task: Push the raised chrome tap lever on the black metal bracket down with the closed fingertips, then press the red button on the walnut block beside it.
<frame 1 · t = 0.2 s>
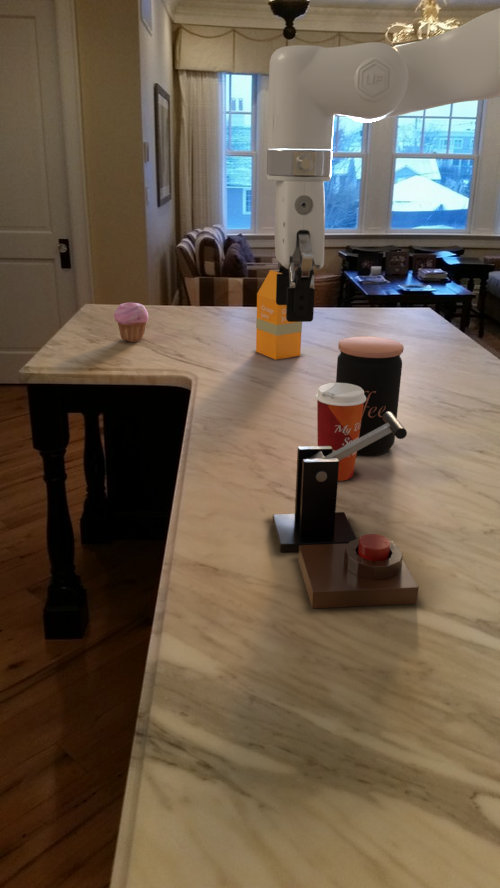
hand: (293, 312, 89), 28 cm above the kitchen island, tool pointing down, fingers open, 9 cm apart
orange juice: (277, 354, 177), on the kitchen island
button: (374, 547, 82), point 4 cm above the kitchen island, slide at 0.1 cm
coffee jar: (362, 446, 122), on the kitchen island
paper cup: (335, 474, 112), on the kitchen island
cupcake: (132, 340, 187), on the kitchen island
tap lever: (353, 447, 89), point 13 cm above the kitchen island, hinge at 30.0°
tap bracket: (313, 535, 93), on the kitchen island
button block: (354, 581, 84), on the kitchen island
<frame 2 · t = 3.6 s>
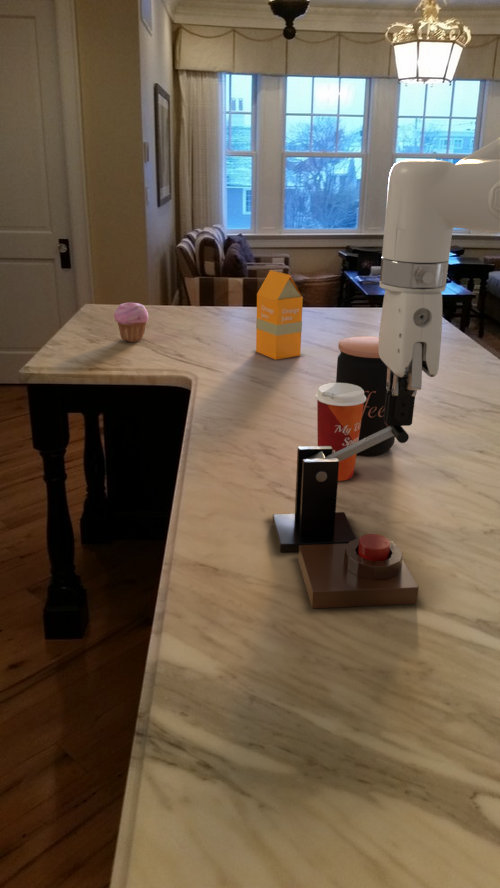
hand: (397, 423, 88), 16 cm above the kitchen island, tool pointing down, fingers closed
tap lever: (354, 449, 89), point 12 cm above the kitchen island, hinge at 26.8°, touching gripper
everything else where it was.
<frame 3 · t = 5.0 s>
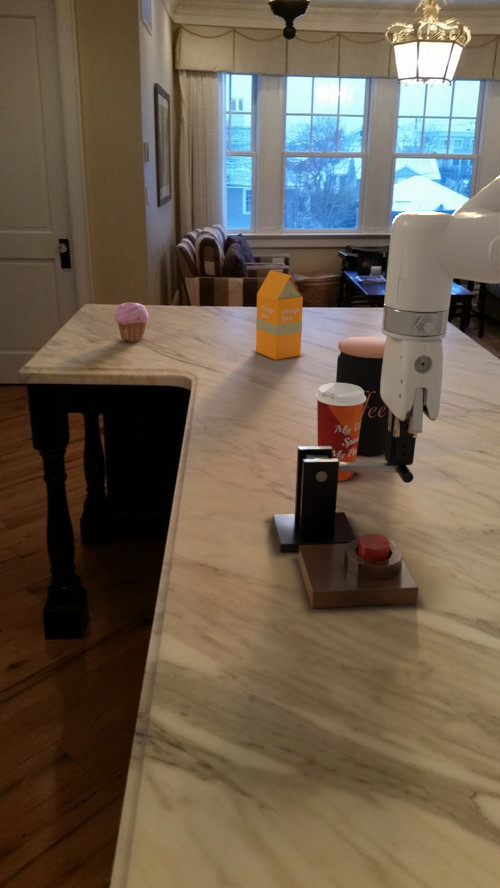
hand: (398, 462, 90), 10 cm above the kitchen island, tool pointing down, fingers closed
tap lever: (356, 467, 90), point 10 cm above the kitchen island, hinge at -2.5°, touching gripper
everything else where it was.
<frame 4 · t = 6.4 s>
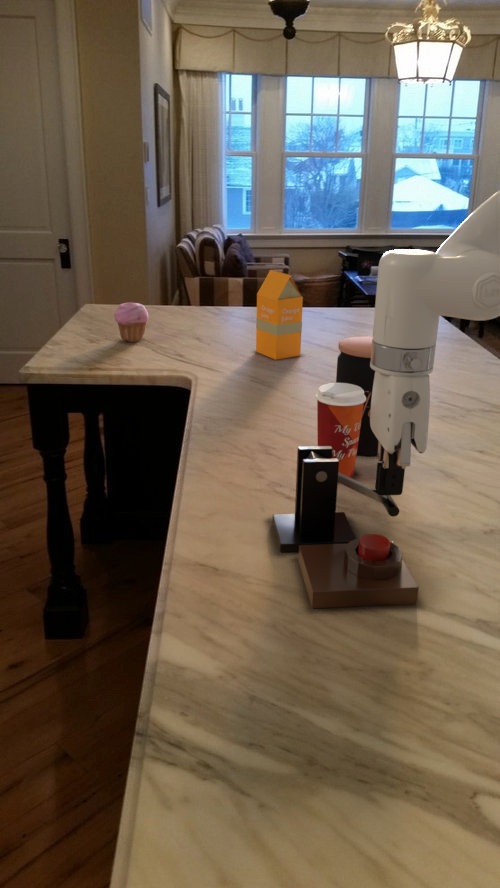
hand: (388, 492, 92), 6 cm above the kitchen island, tool pointing down, fingers closed
tap lever: (350, 483, 91), point 8 cm above the kitchen island, hinge at -28.5°, touching gripper
everything else where it was.
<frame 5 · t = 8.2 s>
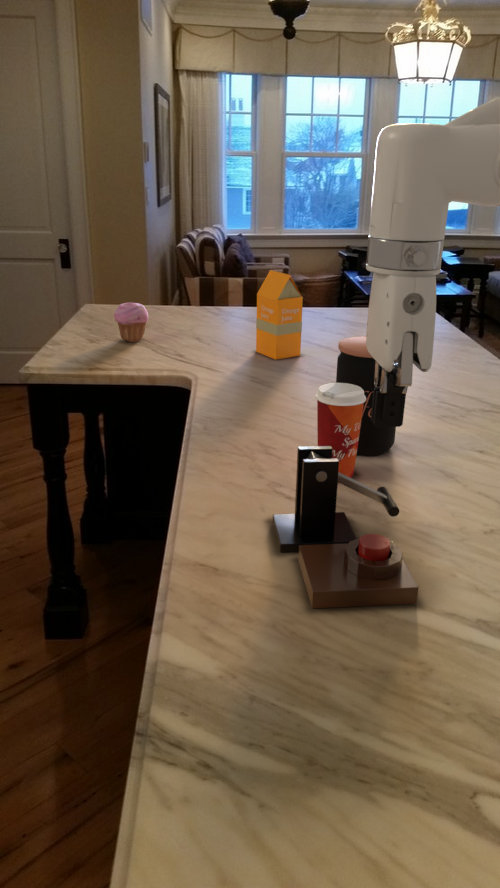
hand: (386, 423, 79), 19 cm above the kitchen island, tool pointing down, fingers closed
tap lever: (350, 483, 91), point 8 cm above the kitchen island, hinge at -28.5°
everything else where it was.
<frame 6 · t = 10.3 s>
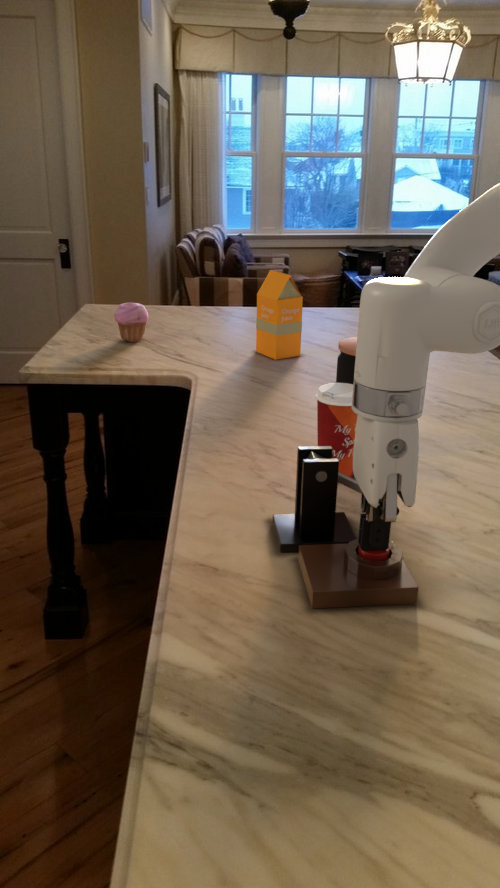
hand: (372, 546, 82), 5 cm above the kitchen island, tool pointing down, fingers closed
button: (373, 553, 82), point 4 cm above the kitchen island, slide at -0.6 cm, touching gripper
everything else where it was.
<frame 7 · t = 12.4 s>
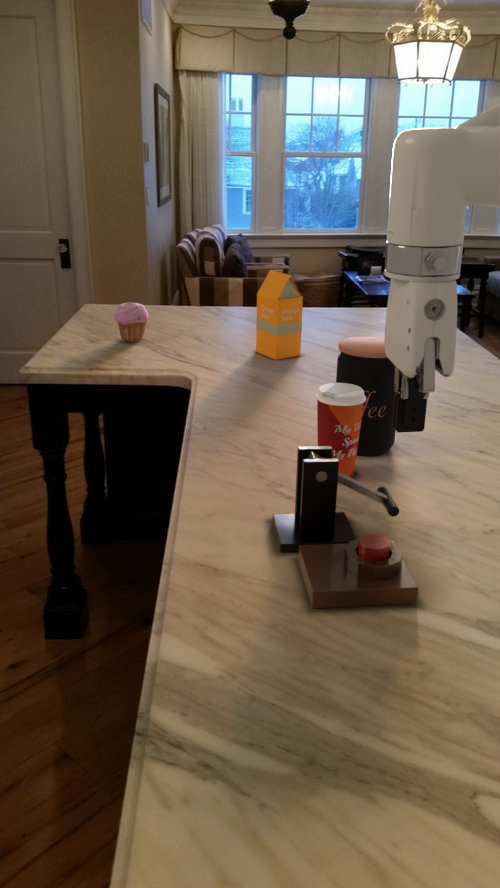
hand: (407, 429, 78), 19 cm above the kitchen island, tool pointing down, fingers closed
button: (374, 547, 82), point 4 cm above the kitchen island, slide at 0.1 cm
everything else where it was.
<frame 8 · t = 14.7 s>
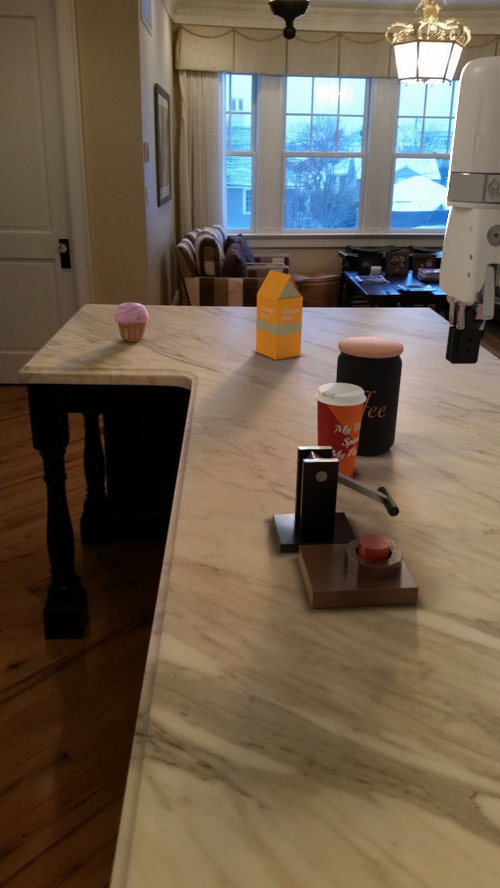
hand: (461, 361, 81), 25 cm above the kitchen island, tool pointing down, fingers closed
nothing on the kitchen island moved.
at the end: tap lever at -28° (first picture: +30°); button pushed in 1.1 cm at the most during the clip, back to where it started at the end; button slide at 0.1 cm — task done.
